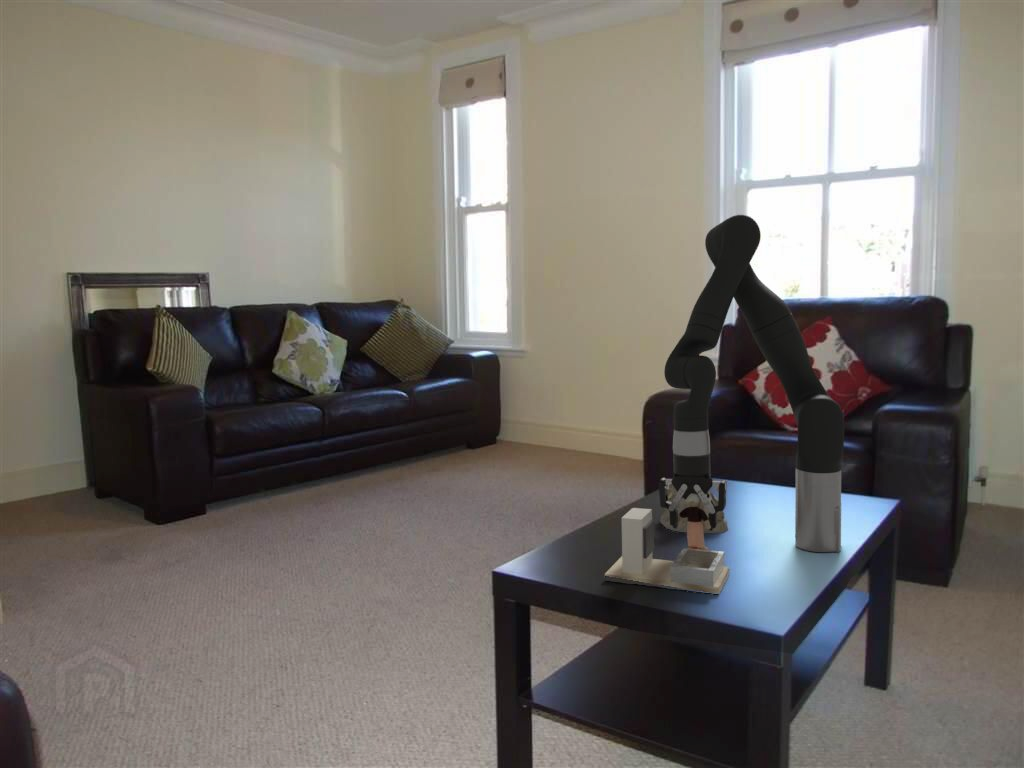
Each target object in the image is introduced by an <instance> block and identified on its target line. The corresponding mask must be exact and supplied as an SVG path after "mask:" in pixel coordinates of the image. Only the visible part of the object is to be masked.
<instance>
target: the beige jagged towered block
mask: <svg viewBox="0 0 1024 768" xmlns="http://www.w3.org/2000/svg"><path fill="white" fill-rule="evenodd" d="M667 491H668V501H669V502H672V501H673V499H674V498H675V496H676V494H677V493H678V492H677V491H676V489H675V488H674V486H673V485H672V484H670V487H669V488H668V489H667ZM708 492H709V494H710V496H711V497H712V500H713V502H714V503H715V505H717V504H718V498H717V497H716V495H714V494H713V492H712V490H711V489H710V490H709V491H708ZM704 499H705V498H704ZM687 507H691V506H690V505H689V503H688V502H686V500H685V499H684V498H682V499H681V500H680V502H679V504H678V505H677V509H678V518H679V513H680V512H681V511H682V510H683V509H685V508H687ZM698 508H700V509H702V510H704V512H705V513H706V515H707V517H708V518H709V515H708V514H709V510H708V509H707V507H706V505H704V503H703V502H702V500H701V504H700V506H698ZM659 519H660V520H659V523H660V522H661V523H662V524H663V525H664V526H665V527H666V528H669V529H671V530H675V531H680V532H685V533H684V534H687V533H686V532H687V522H688V517H687V518H684V519H683V520H682V522H681V523H679V522H678V527H677V529H676V528H673V526H672V525H671V524H670V511H669V510H668V509H667V508H664V510H663V513H662V514H661V516H660V518H659ZM661 523H660V524H661ZM702 523H703V531H704V534H706V533H715V535H716V534H717V533H718V534H724V533H727V532H728V531H729V528H728V521H727V519H726V518H725V512H724V510H723V511H719V512H717V525H716V527H715V528H714V529H713V531H709V529H706V525H705V523H704V521H703V520H702Z"/></svg>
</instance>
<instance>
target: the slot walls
mask: <svg viewBox="0 0 1024 768" xmlns="http://www.w3.org/2000/svg"><path fill="white" fill-rule="evenodd" d="M673 561H674V562H673V564H672V565H671V566H670V573H671V582H677V583H685V584H694V585H702V586H711V587H714V585H715V583H716V581H717V579H718V577H719V576H720V574H721V572H722V570H723V568H724V566H725V551H720V550H712V549H711V550H710V549H708V550H701V549H691V548H688V547H683V549H682V550H681V551H680V553H679V554H678V555H677V557H676V558H675V560H673ZM688 564H691V565H700V566H709V567H710V568H709V569H706V568H697V567H688V566H687V565H688Z"/></svg>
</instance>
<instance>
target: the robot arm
mask: <svg viewBox="0 0 1024 768" xmlns="http://www.w3.org/2000/svg"><path fill="white" fill-rule="evenodd" d="M761 236H762V235H761V229H760V225H758V223H757V222H756V220H755V219H753V218H752V217H751V216H749V215H746V214H735V215H733V216H730V217H728V218H725V220H723V221H722V222H721V223H718V224H717V225H715V226H714V227H712V228H711V229H710V230H709V231H708V232H707V234H706V237H705V243H704V247H705V249H706V253H707V255H708V257H709V259H710V261H711V263H712V265H713V266H714V270H713V271H712V274H711V276H710V278H709V279H708V281H707V283H706V284H705V286H704V288H703V289H702V291H701V293H700V294H699V296H698V298H697V300H696V301H695V304H694V306H693V308H692V310H691V313H690V317H689V319H688V322H687V325H686V329H685V331H684V334H683V335H682V336H681V338H680V339H679V340H678V342H677V344H676V345H675V347H674V348H673V349H672V351H671V353H670V354H669V356H668V357H667V360H666V362H665V365H664V379H665V381H666V383H667V384H668V386H670V387H672V388H674V389H680V390H681V389H683V390H690V392H689V395H688V398H687V399H683V400H680V401H677V402H676V403H675V404H674V406H673V435H672V438H673V439H672V453H673V454H672V456H673V458H672V463H673V477H672V478H666V477H661V479H660V478H659V479H660V480H658V490H659V491H658V495H659V504H660V507H661V508H663V509H665V508H667V509H668V510H669V511H670V524H671V525H672V526H673V528H676V529H677V527H678V509H677V505H678V504H679V502H680V500H681V499H682V498H684V499H687V497H688V496H689V495H690V494H697V495H698V497H699V498H700V499H701V500H702V502H703V503H704V505H706V507H707V509H708V510H709V514H708V515H709V522H710V525H711V528H710V529H709V531H713V529H714V528H715V527H716V525H717V512H719V511H723V512H724V510H725V508H726V504H727V485H728V484H727V481H726V480H725V479H723V480H721V481H719V480H713V478H712V476H711V473H712V472H711V471H712V470H711V441H710V440H711V438H710V432H709V408H710V403H711V400H712V395H713V390H714V387H715V385H716V384H715V383H716V379H717V370H716V369H717V368H716V366H715V363H714V361H713V360H712V359H711V358H710V357H708V356H706V355H701V354H703V353H705V352H708V351H711V350H713V349H715V348H716V346H717V344H718V343H719V340H720V337H721V333H722V332H723V331H722V330H723V328H724V325H725V321H726V319H727V315H728V312H729V310H730V308H731V305H732V302H733V299H734V300H735V303H736V304H737V306H738V309H739V310H740V312H741V314H742V316H743V318H744V320H745V322H746V324H747V327H748V328H749V331H750V332H751V335H752V337H753V339H754V341H755V343H756V345H757V346H758V349H759V350H760V352H761V354H762V355H763V357H764V359H765V361H766V362H767V363H768V365H769V366H770V368H771V369H772V371H773V372H774V374H775V375H776V377H777V378H778V380H779V381H780V384H781V386H782V387H783V390H784V393H785V394H786V395H785V396H786V397H787V400H788V403H789V405H790V407H791V408H790V409H791V411H792V413H793V417H794V420H795V423H796V425H797V448H796V449H797V451H796V455H795V510H794V511H795V512H794V513H795V516H794V519H795V521H794V522H795V528H794V530H795V531H794V532H795V534H794V537H795V541H794V542H795V546H796V547H797V548H798V549H801V550H804V551H808V552H813V553H814V552H816V553H832V552H834V553H836V552H837V553H840V552H841V546H842V461H843V457H844V453H845V452H844V450H845V449H844V447H845V444H844V443H845V415H844V411H843V409H842V407H841V406H840V404H839V403H838V402H836V401H835V400H834V399H832V397H831V396H830V394H829V393H828V391H827V390H826V389H825V387H824V385H823V384H822V382H821V381H820V379H819V377H818V375H817V374H816V372H815V369H814V367H813V366H812V362H811V359H810V356H809V352H808V350H807V346H806V342H805V339H804V337H803V335H802V332H801V329H800V327H799V325H798V323H797V321H796V319H795V317H794V315H793V313H792V310H790V308H789V306H788V304H787V303H786V302H785V301H784V300H783V299H782V298H780V296H779V295H777V294H776V293H775V292H774V291H773V290H772V289H770V288H769V287H768V286H767V285H765V284H764V283H763V282H762V281H761V280H760V279H759V277H758V275H757V274H756V273H755V271H754V269H753V267H752V265H751V263H750V262H751V261H752V259H753V258H754V255H755V253H756V252H757V250H758V247H759V246H760V245H759V244H760V243H761V238H762V237H761ZM671 484H672V485H673V486H674V488H675V489H676V491H677V492H678V493H677V494H676V496H675V498H674V499H673V501H672V502H669V501H668V491H667V489H668V488H671ZM712 487H714V488H715V489H714V490H715V492H717V493H718V498H717V499H718V504H717V505H715V503H714V502H713V500H712V497H711V496H710V494H709V492H708V491H709V490H710V491H711V488H712ZM704 498H705V499H704Z"/></svg>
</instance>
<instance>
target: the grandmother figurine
mask: <svg viewBox="0 0 1024 768" xmlns="http://www.w3.org/2000/svg"><path fill="white" fill-rule="evenodd" d="M685 500H686V502H688V503H689V505H690V506H691V507H687V508H685V509H683V510H682V511H681V512H680V513H679V518H678V522H679V523H681V522H682V520H683V519H684V518H687V517H688V522H687V533H686V536H687V548H691V549H701V550H709V548H708V547H707V546H705V535H704V534H705V533H704V531H703V523H702V520H703V521H704V523H705V525H706V529H710V528H711V525H710V522H709V518H708V517H707V515H706V513H705V512H704V510H702V509H700V508H698V506H700V504H701V499H700V498H699V497H698V495H697V494H690V495H689V496H688V497H687V499H685Z"/></svg>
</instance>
